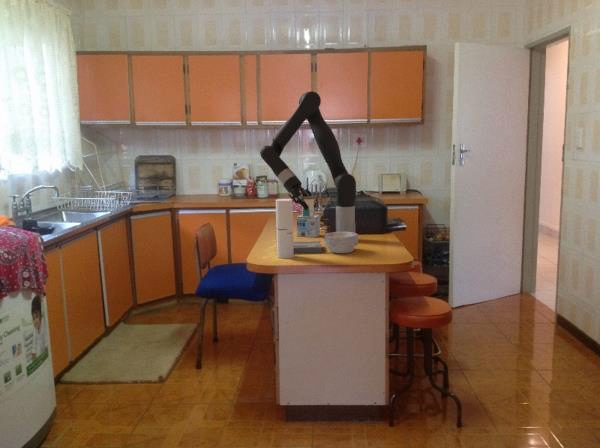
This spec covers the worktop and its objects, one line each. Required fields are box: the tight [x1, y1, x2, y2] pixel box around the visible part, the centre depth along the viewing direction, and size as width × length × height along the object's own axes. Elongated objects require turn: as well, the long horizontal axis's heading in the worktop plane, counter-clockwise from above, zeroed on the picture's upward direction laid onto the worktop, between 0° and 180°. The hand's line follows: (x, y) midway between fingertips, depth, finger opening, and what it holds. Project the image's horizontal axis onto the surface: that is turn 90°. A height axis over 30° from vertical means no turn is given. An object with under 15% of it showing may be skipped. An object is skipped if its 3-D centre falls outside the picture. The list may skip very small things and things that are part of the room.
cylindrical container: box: [275, 198, 295, 259], centre depth 237 cm, size 7×7×25 cm
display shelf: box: [293, 240, 323, 254], centre depth 251 cm, size 17×13×4 cm
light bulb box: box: [296, 213, 321, 238], centre depth 283 cm, size 11×7×11 cm, turn 68°
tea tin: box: [301, 195, 315, 219], centre depth 247 cm, size 6×6×10 cm
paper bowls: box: [323, 231, 359, 254], centre depth 246 cm, size 15×15×8 cm
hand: (311, 208), depth 246 cm, fingers closed on tea tin, 5 cm apart
